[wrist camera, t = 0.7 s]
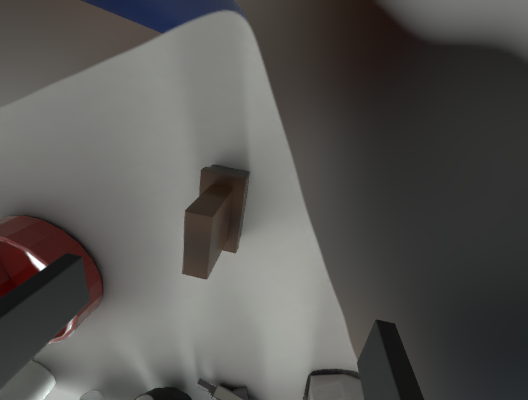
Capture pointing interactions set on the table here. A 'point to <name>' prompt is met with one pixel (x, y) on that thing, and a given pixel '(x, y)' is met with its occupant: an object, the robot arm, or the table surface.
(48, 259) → the bowl
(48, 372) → the cup
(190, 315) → the table surface
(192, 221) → the brown block stand
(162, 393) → the toy
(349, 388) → the decorative ornament
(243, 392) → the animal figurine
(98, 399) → the pill bottle
